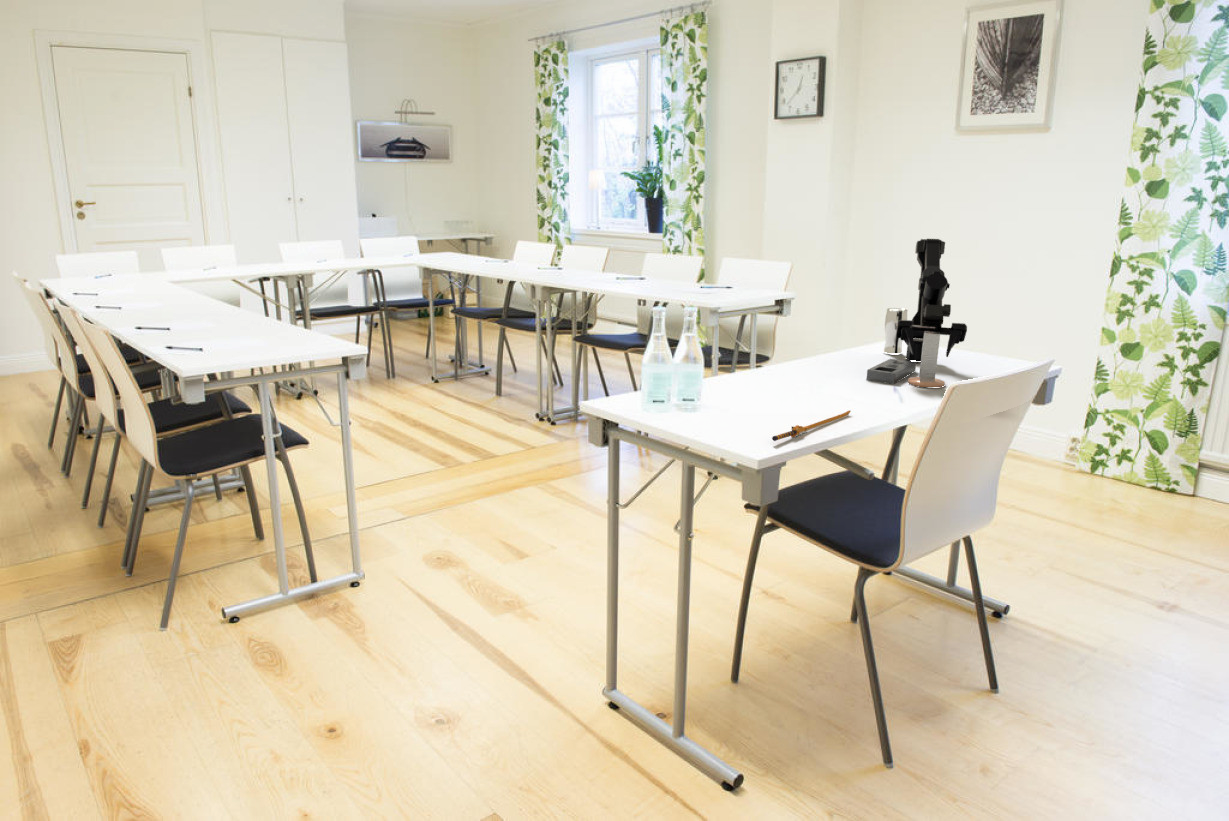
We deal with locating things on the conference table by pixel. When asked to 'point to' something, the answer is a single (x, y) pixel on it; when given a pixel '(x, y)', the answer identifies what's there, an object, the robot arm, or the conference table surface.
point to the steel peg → (929, 356)
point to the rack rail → (891, 371)
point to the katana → (808, 427)
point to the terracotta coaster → (916, 382)
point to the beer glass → (893, 329)
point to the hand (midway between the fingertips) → (930, 354)
